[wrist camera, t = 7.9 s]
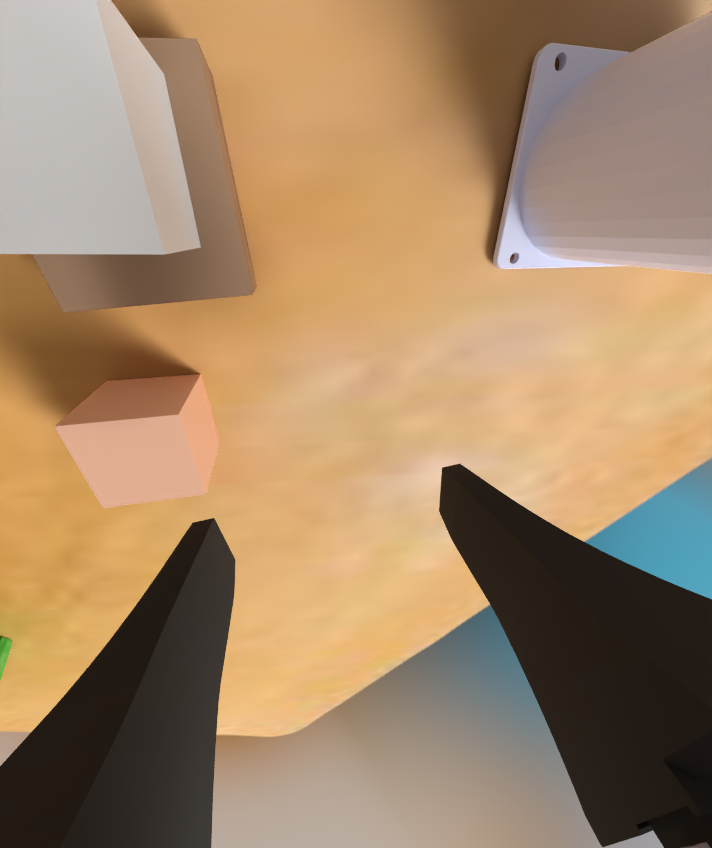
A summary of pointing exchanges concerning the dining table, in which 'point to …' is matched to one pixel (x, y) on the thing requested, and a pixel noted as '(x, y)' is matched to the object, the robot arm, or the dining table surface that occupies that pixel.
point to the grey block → (86, 136)
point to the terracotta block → (143, 439)
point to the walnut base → (211, 201)
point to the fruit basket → (4, 652)
